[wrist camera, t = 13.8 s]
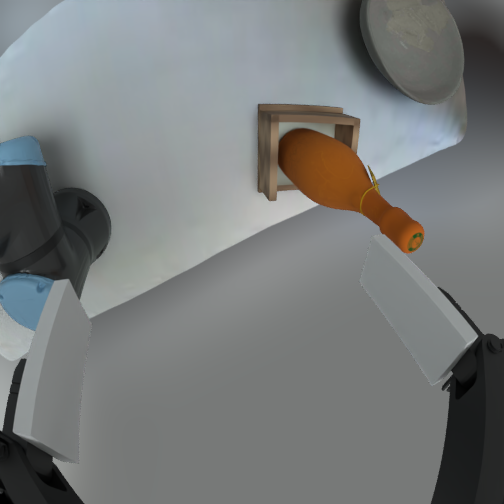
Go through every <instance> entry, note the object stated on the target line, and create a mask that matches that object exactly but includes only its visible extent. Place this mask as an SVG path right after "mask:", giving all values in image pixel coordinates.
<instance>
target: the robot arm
mask: <svg viewBox="0 0 504 504" xmlns="http://www.w3.org/2000/svg"><path fill="white" fill-rule="evenodd" d="M46 166H47V165H46V162H44V159H43V156H42V152H41V148H40V145H39V142H38V140H37V139H36V138H35V137H33V136H23V137H19V138H16V139H12V140H9V141H6V142H3V143H0V273H1V274H2V276H3V280H2V281H1V283H0V303H1V305H2V307H3V308H4V310H5V311H6V312H7V314H8V315H9V316H10V317H11V318H12V319H14V320H15V321H16V322H18V323H19V324H21V325H22V326H24V327H26V328H29V329H31V330H34V331H35V334H34V337H33V340H32V343H31V347H30V350H29V353H28V357H27V359H21V360H20V362H19V364H18V365H17V367H16V369H15V371H14V375H13V379H12V385H11V388H10V394H9V397H8V402H7V407H6V413H5V419H4V425H3V431H0V504H84V503H83V501H82V500H81V499H80V498H79V497H78V495H77V494H76V493H75V491H74V490H73V489H72V487H71V486H70V485H69V483H68V482H67V481H66V479H65V478H64V476H63V475H62V473H61V472H60V471H59V469H58V467H57V466H56V465H55V464H54V463H53V462H52V461H53V460H52V459H53V457H54V458H56V459H58V460H60V461H63V462H69V463H77V464H79V425H80V409H81V397H82V386H83V378H84V370H85V362H86V356H87V350H88V344H89V338H90V333H91V328H92V324H91V322H90V320H89V318H88V316H87V314H86V313H85V311H84V309H83V307H82V305H81V303H80V301H79V300H80V297H81V293H82V290H83V286H84V283H85V280H86V277H87V273H88V270H89V267H90V265H91V264H92V263H93V262H94V261H96V259H98V258H99V257H100V256H101V255H102V253H103V252H104V250H105V249H106V247H107V244H108V241H109V238H110V234H111V222H110V218H109V215H108V213H107V211H106V209H105V207H104V206H103V204H102V203H101V202H100V201H99V200H98V199H97V198H96V197H95V196H94V195H92V194H91V193H89V192H87V191H84V190H81V189H77V188H67V189H62V190H60V191H58V192H56V193H54V194H53V192H52V188H51V185H50V181H49V178H48V174H47V170H46ZM359 283H360V284H361V285H362V287H363V288H364V289H365V291H366V292H367V293H368V295H369V296H370V297H371V299H372V300H373V301H374V303H375V304H376V305H377V307H378V308H379V309H380V311H381V312H382V314H383V315H384V316H385V318H386V319H387V321H388V322H389V323H390V325H391V326H392V328H393V329H394V330H395V332H396V333H397V335H398V336H399V337H400V339H401V340H402V342H403V343H404V345H405V346H406V348H407V349H408V351H409V352H410V354H411V355H412V357H413V358H414V360H415V361H416V363H417V364H418V366H419V367H420V368H421V370H422V372H423V373H424V375H425V377H426V378H427V380H428V381H429V383H430V384H431V386H433V385H434V384H436V383H438V382H439V381H441V380H442V379H444V378H445V377H446V376H447V374H448V373H449V372H450V371H452V372H453V375H452V376H451V377H450V378H449V379H448V380H447V381H446V383H445V384H444V385H443V386H442V390H445V388H447V386H448V385H449V384H450V386H449V387H448V389H447V391H448V392H450V398H449V411H448V421H447V429H446V437H445V443H444V450H443V455H442V461H441V465H440V470H439V475H438V479H437V483H436V487H435V491H434V494H433V498H432V501H431V504H504V339H499V338H498V337H497V336H495V335H493V334H486V335H484V334H482V332H481V331H480V330H479V329H478V327H477V326H476V325H475V324H474V323H473V321H472V320H471V319H470V318H469V317H468V315H467V314H466V313H465V312H464V311H463V310H461V307H460V306H459V305H458V304H457V303H455V302H456V301H455V300H454V299H453V298H452V297H451V296H450V295H449V294H448V293H447V292H445V291H444V290H442V289H441V288H439V287H436V286H435V285H434V284H433V282H432V281H431V280H430V279H429V278H428V277H427V276H426V275H425V274H424V273H423V272H422V271H421V270H420V269H419V268H418V267H417V266H416V265H415V264H414V263H413V262H412V261H411V260H410V259H409V258H408V257H407V256H406V255H405V254H404V253H403V252H402V251H401V250H400V249H399V248H398V247H397V246H396V245H395V244H394V243H393V242H392V241H391V240H390V239H389V238H388V237H387V236H386V235H385V234H382V235H376V236H372V237H371V241H370V245H369V249H368V252H367V256H366V260H365V264H364V267H363V270H362V274H361V277H360V281H359Z"/></svg>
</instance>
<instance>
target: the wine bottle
mask: <svg viewBox="0 0 504 504" xmlns="http://www.w3.org/2000/svg"><path fill="white" fill-rule="evenodd" d="M278 165H279V167H280V169H281V170H282V172H283V173H284V174H285V175H286V176H287V177H288V178H289V180H290V181H291V182H292V183H293V184H294V185H295V186H296V187H297V188H298V189H299V190H300V191H301V192H302V193H303V194H304V195H306V196H307V197H308V198H309V199H311V200H312V201H314V202H316V203H318V204H320V205H323V206H326V207H330V208H334V209H341V210H350V211H356V212H359V213H361V214H363V215H364V216H366V217H367V218H369V219H370V220H371V221H373V222H374V223H375V224H377V225H378V226H379V227H380V231H381V233H382V234H385V235H386V236H387V237H388V238H389V239H390V240H391V241H392V242H393V243H394V244H395V245H396V246H397V247H398V248H399V249H400V250H401V251H402V252H404V253H412V252H414V251H416V250H417V249H418V248H419V247H420V246H421V244H422V242H423V239H424V229H423V227H422V226H421V224H419V223H418V222H417V221H414V220H412V218H410V217H409V215H408V214H407V213H406V212H404V211H403V210H402V209H400V208H398V207H392V206H391V205H390V204H389V203H388V202H387V201H386V200H384V199H383V198H382V197H381V195H380V192H379V189H378V185H379V184H377V182H376V179H375V176H374V174H373V172H372V171H371V169H370V167H369V166H368V168H369V171H370V174H371V177H372V180H373V183H374V187H373V185H372V183H371V180H370V178H369V175H368V173H367V171H366V169H365V167H364V165H363V163H362V161H361V160H360V159H359V157H358V156H357V155H356V153H355V152H354V151H353V150H352V149H351V148H349V147H348V146H347V145H345V144H344V143H342V142H340V141H339V140H336V139H334V138H332V137H330V136H328V135H325V134H323V133H320V132H318V131H315V130H312V129H308V128H298V129H295V130H292V131H290V132H288V133H287V134H286V135H285V136H284V137H283V138H282V139H281V141H280V142H279V145H278ZM375 189H376V190H375Z"/></svg>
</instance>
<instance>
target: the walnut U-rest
mask: <svg viewBox="0 0 504 504" xmlns="http://www.w3.org/2000/svg"><path fill="white" fill-rule="evenodd" d="M298 128H308V129H312V130H315V131H318V132H320V133H323V134H325V135H328V136H330V137H332V138H334V139H336V140H339V141H340V142H342V143H344V144H345V145H347V146H348V147H349V148H351V149H352V150H353V151H354V152H355V153H356V155H357V147H358V138H359V128H360V119H359V118H355V117H352V116H349V115H346V114H343V108H338V107H327V106H312V105H290V104H258V192H259V193H261V192H263V193H264V194H265V196H266V197H267V199H268V200H269V201H276V197H277V191H285V190H299V189H298V188H297V187H296V186H295V185H294V184H293V183H292V182H291V181H290V180H289V178H288V177H287V176H286V175H285V174H284V173H283V172H282V170H281V169H280V167H279V165H278V145H279V142H280V141H281V139H282V138H283V137H284V136H285V135H286V134H287V133H288V132H290V131H292V130H295V129H298Z"/></svg>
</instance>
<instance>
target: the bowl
mask: <svg viewBox="0 0 504 504" xmlns="http://www.w3.org/2000/svg"><path fill="white" fill-rule="evenodd" d="M360 28H361V33H362V37H363V40H364V43H365V45H366V48H367V50H368V53H369V55H370V57H371V59H372V61H373V62H374V64H375V65H376V67H377V68H378V70H379V71H380V72H381V74H382V75H383V76H384V77H385V78H386V79H387V80H388V81H389V82H390V83H391V84H392V85H393V86H394V87H395V88H396V89H398V90H399V91H400V92H401V93H403V94H404V95H406V96H407V97H409V98H411V99H412V100H414V101H417V102H419V103H423V104H428V105H435V104H440V103H443V102H445V101H446V100H448V99H449V98H451V97H452V96H453V95H454V93H455V92H456V91H457V89H458V87H459V85H460V82H461V79H462V75H463V69H464V52H463V45H462V41H461V37H460V33H459V30H458V27H457V25H456V22H455V20H454V18H453V16H452V15H451V13H450V12H449V10H448V9H447V7H446V5H445V4H444V3H443V2H442V0H362V3H361V8H360Z"/></svg>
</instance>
